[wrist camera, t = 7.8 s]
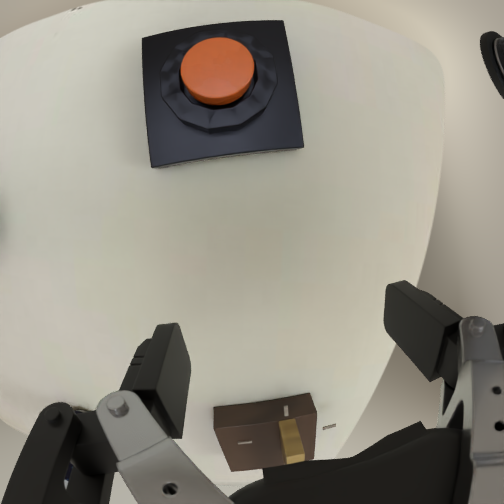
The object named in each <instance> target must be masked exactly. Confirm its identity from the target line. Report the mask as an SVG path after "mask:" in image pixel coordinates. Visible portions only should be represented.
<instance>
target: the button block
mask: <svg viewBox="0 0 504 504" xmlns="http://www.w3.org/2000/svg"><path fill="white" fill-rule="evenodd" d="M217 37H222V38H229V39H233V40H235V41H237V42H239V43H241V44H242V45H244V46H245V47H246V48H247V49H248V50H249V52H250V53H251V55H252V57H253V60H254V73H253V76H252V80H251V83H250V86H249V88H248V90H247V91H246V92H245V93H244V94H243V95H242V96H241V97H240V98H239V99H237V100H235V101H234V102H231V103H228V104H225V105H208V104H204V103H202V102H200V101H198V100H196V99H195V98H194V97H193V96H192V95H191V94H190V93H189V92H188V90H187V88H186V86H185V84H184V82H183V80H182V77H181V63H182V60H183V58H184V56H185V55H186V53H187V52H188V51H189V50H190V49H191V48H192V47H193V46H194V45H196V44H197V43H199V42H201V41H203V40H206V39H210V38H217ZM142 68H143V88H144V103H145V115H146V126H147V136H148V145H149V154H150V162H151V167H152V168H164V167H169V166H175V165H180V164H186V163H192V162H198V161H204V160H211V159H217V158H224V157H232V156H240V155H248V154H257V153H267V152H278V151H290V150H297V149H301V148H304V142H303V134H302V126H301V119H300V112H299V105H298V98H297V92H296V85H295V79H294V73H293V68H292V62H291V56H290V51H289V46H288V41H287V36H286V31H285V26H284V21H283V20H263V21H241V22H229V23H219V24H211V25H203V26H196V27H190V28H185V29H179V30H174V31H169V32H165V33H160V34H156V35H152V36H148V37H144V38H142Z"/></svg>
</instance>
